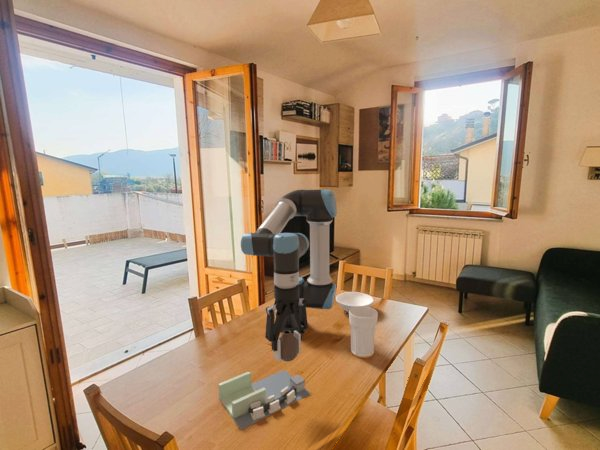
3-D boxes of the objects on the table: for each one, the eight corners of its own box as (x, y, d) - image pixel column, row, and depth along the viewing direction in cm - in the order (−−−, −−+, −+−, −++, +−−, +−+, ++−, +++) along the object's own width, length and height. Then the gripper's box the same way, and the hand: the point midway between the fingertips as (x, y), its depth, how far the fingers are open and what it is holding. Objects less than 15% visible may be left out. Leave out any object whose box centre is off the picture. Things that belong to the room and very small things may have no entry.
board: (218, 400, 102) (218, 398, 102) (284, 372, 117) (284, 369, 117) (241, 433, 90) (240, 429, 89) (311, 396, 104) (311, 393, 104)
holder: (219, 397, 102) (218, 383, 102) (249, 384, 109) (248, 371, 108) (234, 419, 93) (233, 404, 92) (266, 403, 99) (266, 389, 99)
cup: (342, 348, 132) (343, 308, 130) (365, 342, 137) (366, 304, 134) (358, 363, 122) (359, 320, 119) (382, 356, 126) (383, 314, 124)
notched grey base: (246, 409, 96) (246, 406, 96) (296, 385, 107) (296, 382, 107) (252, 418, 93) (252, 414, 93) (304, 392, 104) (304, 388, 104)
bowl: (376, 319, 159) (377, 306, 158) (337, 319, 159) (337, 306, 158) (369, 303, 178) (369, 291, 177) (333, 303, 178) (334, 291, 177)
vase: (282, 367, 96) (281, 340, 94) (273, 355, 101) (272, 330, 100) (302, 360, 99) (302, 333, 97) (292, 349, 105) (291, 324, 103)
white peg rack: (244, 408, 98) (243, 399, 97) (297, 382, 109) (297, 374, 109) (254, 422, 92) (254, 412, 92) (309, 393, 104) (309, 384, 103)
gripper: (264, 295, 88) (266, 372, 91) (319, 281, 99) (319, 350, 103) (251, 287, 94) (253, 360, 97) (305, 275, 105) (305, 340, 109)
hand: (287, 355), depth 100 cm, fingers closed on vase, 7 cm apart
